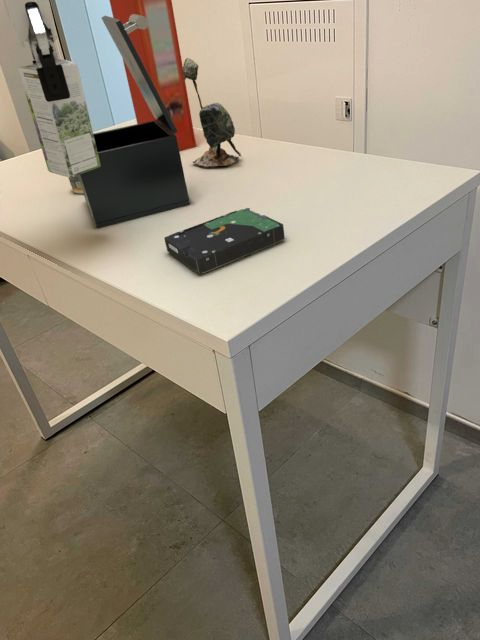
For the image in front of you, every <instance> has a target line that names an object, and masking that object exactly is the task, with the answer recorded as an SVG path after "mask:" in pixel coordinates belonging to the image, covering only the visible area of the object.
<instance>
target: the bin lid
mask: <svg viewBox="0 0 480 640" xmlns="http://www.w3.org/2000/svg"><path fill="white" fill-rule="evenodd" d="M101 21H102V22H103V24H104V26H105V28H106V30H107V31H108V33H109V35H110V38H111V39H112V41H113V42H114V45H115V47H116V48H117V50H118V52H119V55H121V57H122V61H123V60H124V61H125V63H126V65H127V67H128V69H129V71H130V73H131V74H132V76H133V78H134V80H135V82H136V84H137V86H138V88H139V89H140V91H141V93H142V95H143V97H144V99H145V101H146V103H147V104H148V106H149V108H150V110H151V112H152V114H153V116H154V118H155V119H157V120H158V121H159V122H160V123H161V124H163V125H164V126H165V127H166V128H167V129H169V130H170V131H171V132H172V133H173V134H175V133H176V132H178V131H177V129H176V127H175V125H174V123H173V121H172V119H171V117H170V115H169V113H168V112H167V110H166V108H165V106H164V104H163V102H162V100H161V98H160V96H159V94H158V92H157V90H156V88H155V86H154V84H153V82H152V80H151V79H150V77H149V75H148V73H147V71H146V69H145V67H144V65H143V63H142V61H141V59H140V57H139V55H138V53H137V51H136V49H135V47H134V45H133V44H132V42H131V40H130V38H129V36H128V34H129V33H131V32H132V31H134V30H136V29H141V30H144V29H146V28H147V27H148V20H147V19H146V17H144V16H140V15H136V14H132V15H131V16H130V17H129V21H128V22H127V23H125V24H122V22H121V20H119V19H115V18H113V16H108V15H103V16H101Z"/></svg>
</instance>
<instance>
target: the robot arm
mask: <svg viewBox="0 0 480 640" xmlns="http://www.w3.org/2000/svg"><path fill="white" fill-rule="evenodd" d="M3 2H4V5H5V9H6V11H7V15H8V18H9V21H10V24H11V27H12V30H13V34H14V36H15V40H16V42H17V43H16V44H17V45H19V47H22V48H25V43H24V42H28V46H29V49H30V53H31V55H32V59H33V60H32V61H31V63H32V64H36V63H37V66H38V68H36V70H37V73H38V77H39V80H40V83H41V86H42V90H43V93H44V96H45V99H46V101H48V102H51V101H57V100H62V99H68V98H70V93H69V89H68V86H67V82H66V79H65V75H64V72H63V68H62V65H61V64H60V63H59V59H60V58H59V56H58V53H57V50H56V47H55V44H54V43H55V42H56V41H57V39H58V35H57V30H56V25H55V20H54V16H53V15H54V14H53V11H52V7H51V3H50V0H3Z"/></svg>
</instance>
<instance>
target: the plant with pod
mask: <svg viewBox="0 0 480 640" xmlns="http://www.w3.org/2000/svg"><path fill="white" fill-rule="evenodd" d="M198 71H199V64H198V63H196V62H195V60H193V59H191V58H190V57H187V58H185V59H184V62H183V68H182V73H183V74H184V79H183V81H185V82H186V79H187V80H191V81H192V83H193V87H194V89H195V92H196V94H197V98H198V101H199V106H200V110H199V113H198V115H199V122H200V124H201V128H202V132H203V137H204V138H205V140H206V144H208V146H209V147H208V150H206V151H205V152H204V153H203V154H202V155H201V156H200V157H198V158H197V159H195V160H194V161H192V164H194V165H197V166H201V167H204V168H208V167H220V166H221V167H230V166H233V165H234V164H235V163H237V162H238V161H239V159H240V157H242V152H240V151H239V150H238V149H237V147H236V146H235V144H234V143H233V141H232V138H234V137H235V133H236V128H235V125H234V121H233V120H232V116H231V114H230V113H229V112H228V110H227V109H226V108H225V107H224V105H223V104H222V103H219V102H213V103H210V104H207V105H205V106H203V105H202V104H203V103H202V100H201V96H200V93H199V91H198V84H197V80H198V74H199V73H198ZM225 142H227V143H228V144H229V145H230V147H231V148H232V150H233V151H234V152H235V153H236V154H237V155H238V156H236V155H233V154H230V153H227V151H226V150H225V149H224V148H222V147H221V144H222V143H225Z"/></svg>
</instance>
